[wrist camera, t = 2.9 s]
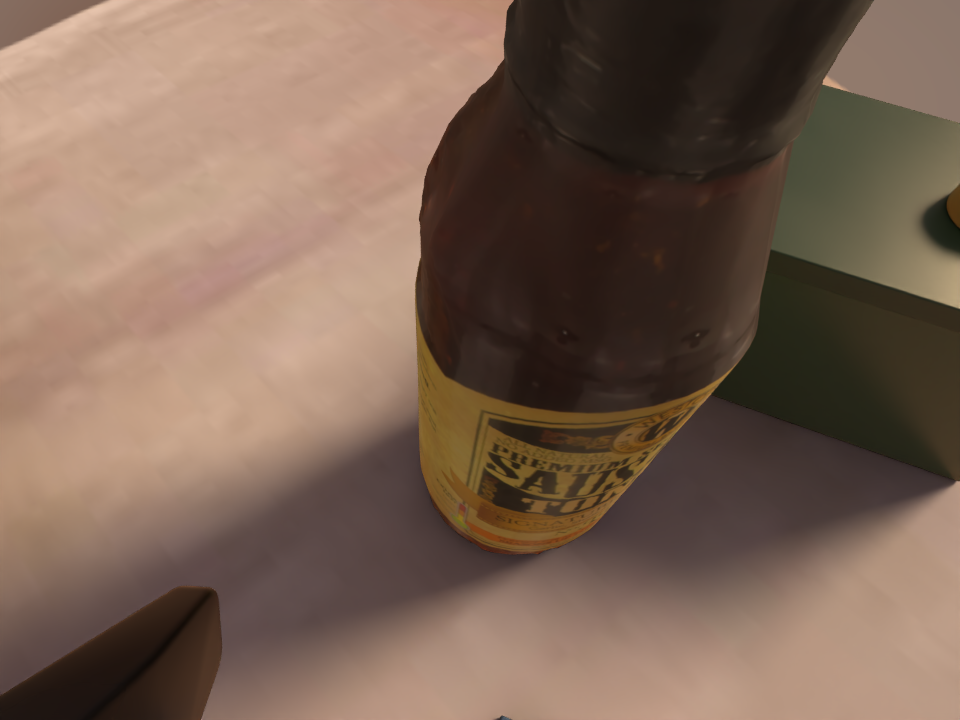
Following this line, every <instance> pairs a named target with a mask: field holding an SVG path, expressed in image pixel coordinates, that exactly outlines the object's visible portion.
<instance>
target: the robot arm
mask: <svg viewBox="0 0 960 720" xmlns="http://www.w3.org/2000/svg"><path fill="white" fill-rule="evenodd" d="M221 654H222V637H221V624H220V611H219V599H218V595H217V593H216V591H215V590H214V589H213V588H211V587H198V586H179V587H176V588H174V589H172V590H171V591H169V592H168V593H166V594H164V595H163V596H161V597H159V598H158V599H156V600H155V601H153V602H151V603H150V604H148V605H146V606H145V607H143V608H142V609H140V610H138V611H137V612H135V613H133V614H132V615H130V616H129V617H127V618H125V619H124V620H122V621H121V622H119V623H117V624H116V625H114V626H112V627H111V628H109V629H108V630H106V631H104V632H103V633H101V634H99V635H98V636H96V637H95V638H93V639H91V640H90V641H88V642H87V643H85V644H83V645H82V646H80V647H78V648H77V649H75V650H74V651H72V652H70V653H69V654H67V655H65V656H64V657H62V658H61V659H59V660H57V661H56V662H54V663H52V664H51V665H49V666H48V667H46V668H44V669H43V670H41V671H40V672H38V673H36V674H35V675H33V676H31V677H30V678H28V679H27V680H25V681H23V682H22V683H20V684H18V685H17V686H15V687H14V688H12V689H10V690H9V691H7V692H5V693H4V694H2V695H1V696H0V720H201V717H202V714H203V711H204V709H205V706H206V703H207V700H208V697H209V694H210V691H211V688H212V686H213V683H214V680H215V677H216V674H217V671H218V668H219V665H220V660H221Z"/></svg>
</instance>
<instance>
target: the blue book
mask: <svg viewBox="0 0 960 720" xmlns="http://www.w3.org/2000/svg"><path fill="white" fill-rule="evenodd" d="M500 720H511V719H509V718H507V717H504V716H501V717H500Z"/></svg>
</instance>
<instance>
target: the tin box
mask: <svg viewBox="0 0 960 720" xmlns="http://www.w3.org/2000/svg"><path fill="white" fill-rule="evenodd" d="M711 395H714V396H716V397H719V398H722V399H725V400H728V401H731V402H734V403H736V404H739V405H742V406H745V407H748V408H751V409H754V410H756V411H759V412H762V413H765V414H768V415H771V416H774V417H776V418H779V419H782V420H785V421H788V422H791V423H793V424H796V425H799V426H802V427H805V428H808V429H811V430H813V431H816V432H819V433H822V434H825V435H828V436H831V437H833V438H836V439H839V440H842V441H845V442H848V443H851V444H853V445H856V446H859V447H862V448H865V449H868V450H870V451H873V452H876V453H879V454H882V455H885V456H888V457H890V458H893V459H896V460H899V461H902V462H905V463H908V464H910V465H913V466H916V467H919V468H922V469H925V470H928V471H930V472H933V473H936V474H939V475H942V476H945V477H948V478H950V479H953V480H956V481H960V123H957V122H953V121H950V120H947V119H943V118H939V117H936V116H932V115H929V114H925V113H922V112H918V111H915V110H911V109H907V108H904V107H900V106H896V105H893V104H890V103H886V102H883V101H879V100H875V99H872V98H868V97H865V96H861V95H857V94H854V93H851V92H847V91H843V90H840V89H836V88H833V87H829V86H826V85H822V88H821V91H820V93H819V96H818V99H817V102H816V104H815V107H814V110H813V113H812V114H811V116H810V117H809V119H808V120H807V122H806V124H805V126H804V128H803V129H802V131H801V133H800V135H799V136H798V137H797V138H796V139H794V143H793V148H792V152H791V157H790V161H789V166H788V171H787V175H786V180H785V184H784V189H783V194H782V198H781V203H780V208H779V212H778V217H777V222H776V226H775V231H774V236H773V240H772V245H771V250H770V254H769V259H768V264H767V269H766V273H765V278H764V283H763V287H762V292H761V297H760V308H759V319H758V326H757V331H756V334H755V337H754V339H753V341H752V343H751V345H750V347H749V348H748V350H747V351H746V353H745V354H744V356H743V357H742V358H741V360H740V361H739V362H738V363H737V364H736V366H735V367H734V368H733V369H732V370H731V371H730V373H729V374H728V375H727V376H726V377H725V379H724V380H723V381H722V382H721V383H720V384H719V385H718V387H717V388H716V389H715V390H714V391H713V392H712V393H711Z"/></svg>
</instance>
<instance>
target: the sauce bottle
mask: <svg viewBox="0 0 960 720" xmlns="http://www.w3.org/2000/svg"><path fill="white" fill-rule="evenodd" d="M873 1H874V0H514V1H513V2H512V4H511V5H510V6H509V8H508V10H507V18H506V31H505V38H504V60H503V61H502V62H501V64H500V65H499V66H498V68H497V70H496V71H495V73H494V75H493V76H492V77H491V78H490V79H489V80H488V81H487V82H486V83H485V84H483V85H482V86H481V87H480V88H478V89H477V91H476V93H473V94H472V95H471V96H470V98H469V99H468V101H467V102H466V104H465V105H464V106H463V107H462V108H461V109H460V110H459V111H458V112H457V114H456V115H455V117H454V118H453V119H452V120H451V122H450V123H449V125H448V127H447V129H446V131H445V133H444V135H443V137H442V139H441V141H440V144H439V146H438V148H437V150H436V152H435V154H434V156H433V158H432V160H431V162H430V164H429V166H428V169H427V172H426V176H425V180H424V190H423V195H422V207H421V210H420V214H419V221H420V236H421V258H420V261H419V266H418V272H417V277H416V283H415V307H416V334H417V360H418V401H419V446H420V462H421V469H422V472H423V476H424V479H425V482H426V485H427V488H428V490H429V493H430V496H431V499H432V502H433V505H434V507H435V509H436V510H437V511H438V512H439V514H440V515H441V517H442V518H443V520H444V521H445V522H446V524H448V525H449V526H450V527H451V528H452V529H454V530H455V531H456V532H457V533H458V534H460V535H461V536H462V537H463V538H466V539H468V540H469V541H470V542H472V543H474V544H476V545H478V546H479V547H480V548H481V549H483V550H486V551H490V552H495V553H504V554H528V553H536V554H540V553H541V552H543V551H545V550H548V549H551V548H558V547H560V546H562V545H564V544H566V543H568V542H570V541H572V540H574V539H576V538H578V537H579V536H581V535H582V534H584V533H585V532H587V531H588V530H590V529H591V528H592V527H593V526H594V525H595V524H596V523H597V522H598V521H599V520H600V518H601V517H602V516H603V515H604V514H605V513H606V512H607V511H608V509H609V508H610V507H611V506H612V505H613V504H614V503H615V502H616V500H617V499H618V498H619V497H620V496H621V495H622V494H623V493H624V492H625V490H626V489H627V488H628V487H629V486H630V485H631V484H632V482H633V481H634V480H635V479H636V478H637V477H638V476H639V475H640V474H641V473H642V472H643V471H644V469H645V468H646V467H647V466H648V465H649V464H650V463H651V461H652V460H653V459H654V458H655V456H656V455H657V454H658V453H659V452H660V451H661V450H662V449H663V448H664V446H665V445H667V443H668V442H669V441H670V440H671V438H672V437H673V436H674V435H675V433H676V432H677V431H678V430H679V429H680V428H681V427H682V426H683V424H684V423H685V422H686V421H687V420H688V419H689V418H690V417H691V416H692V415H693V413H694V412H695V411H696V410H697V409H698V408H699V407H700V406H701V405H702V403H703V402H704V401H705V400H706V399H707V398H708V397H709V396H710V395H711V393H712V392H713V391H714V390H715V389H716V388H717V387H718V385H719V384H720V383H721V382H722V381H723V380H724V379H725V377H726V376H727V375H728V374H729V373H730V371H731V370H732V369H733V368H734V367H735V366H736V364H737V363H738V362H739V361H740V360H741V358H742V357H743V356H744V354H745V353H746V351H747V350H748V348H749V347H750V345H751V343H752V341H753V339H754V337H755V334H756V331H757V326H758V319H759V308H760V297H761V292H762V287H763V283H764V278H765V273H766V269H767V264H768V259H769V254H770V250H771V245H772V240H773V236H774V231H775V226H776V222H777V217H778V212H779V208H780V203H781V198H782V194H783V189H784V184H785V180H786V175H787V171H788V166H789V161H790V157H791V152H792V148H793V143H794V139H796V138H797V137H798V136H799V135H800V133H801V131H802V129H803V128H804V126H805V124H806V122H807V120H808V119H809V117H810V116H811V114H812V113H813V110H814V107H815V104H816V102H817V99H818V96H819V93H820V91H821V88H822V83H823V79H824V78H825V76H826V75H827V73H828V71H829V70H830V68H831V66H832V65H833V63H834V62H835V60H836V58H837V55H838V54H839V52H840V50H841V49H842V47H843V46H844V44H845V43H846V41H847V40H848V38H849V37H850V36H851V34H852V33H853V31H854V29H855V27H856V26H857V24H858V23H859V21H860V20H861V19H862V17H863V16H864V15H865V13H866V12H867V10H868V9H869V7H870V6H871V4H872V2H873Z"/></svg>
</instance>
